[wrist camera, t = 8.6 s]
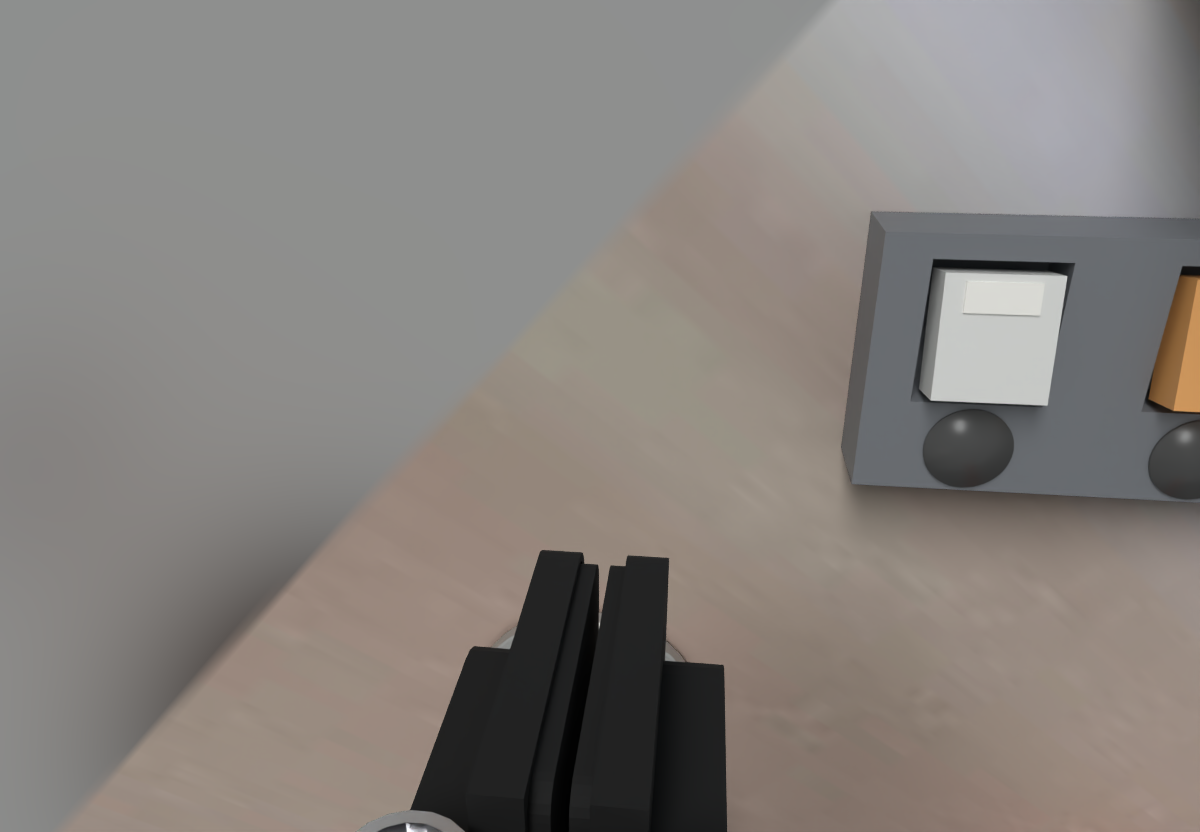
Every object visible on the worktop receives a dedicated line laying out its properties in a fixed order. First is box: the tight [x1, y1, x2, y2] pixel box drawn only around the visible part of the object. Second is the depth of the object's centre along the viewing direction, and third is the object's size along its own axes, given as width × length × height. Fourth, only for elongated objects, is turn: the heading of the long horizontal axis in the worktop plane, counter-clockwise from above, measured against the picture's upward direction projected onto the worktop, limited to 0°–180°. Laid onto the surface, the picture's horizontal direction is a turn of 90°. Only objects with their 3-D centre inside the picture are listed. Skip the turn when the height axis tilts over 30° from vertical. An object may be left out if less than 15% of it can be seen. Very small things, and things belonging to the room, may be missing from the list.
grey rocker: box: [919, 267, 1067, 406], centre depth 35 cm, size 5×4×2 cm
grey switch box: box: [841, 212, 1200, 503], centre depth 37 cm, size 11×18×4 cm, turn 90°
